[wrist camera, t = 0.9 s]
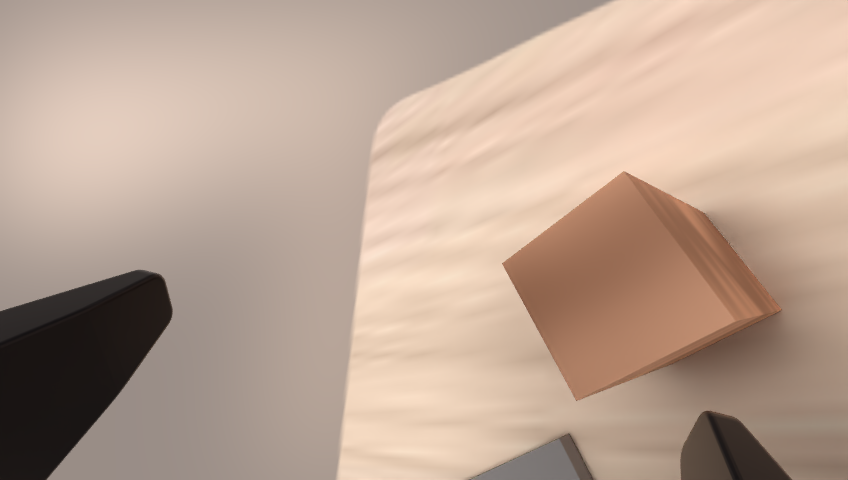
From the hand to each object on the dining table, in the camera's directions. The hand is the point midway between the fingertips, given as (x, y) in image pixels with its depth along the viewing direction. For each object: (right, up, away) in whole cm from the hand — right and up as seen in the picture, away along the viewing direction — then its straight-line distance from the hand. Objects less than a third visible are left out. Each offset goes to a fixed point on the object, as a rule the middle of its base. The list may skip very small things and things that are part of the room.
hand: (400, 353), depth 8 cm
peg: (+11, 0, +12) cm, 16 cm away
